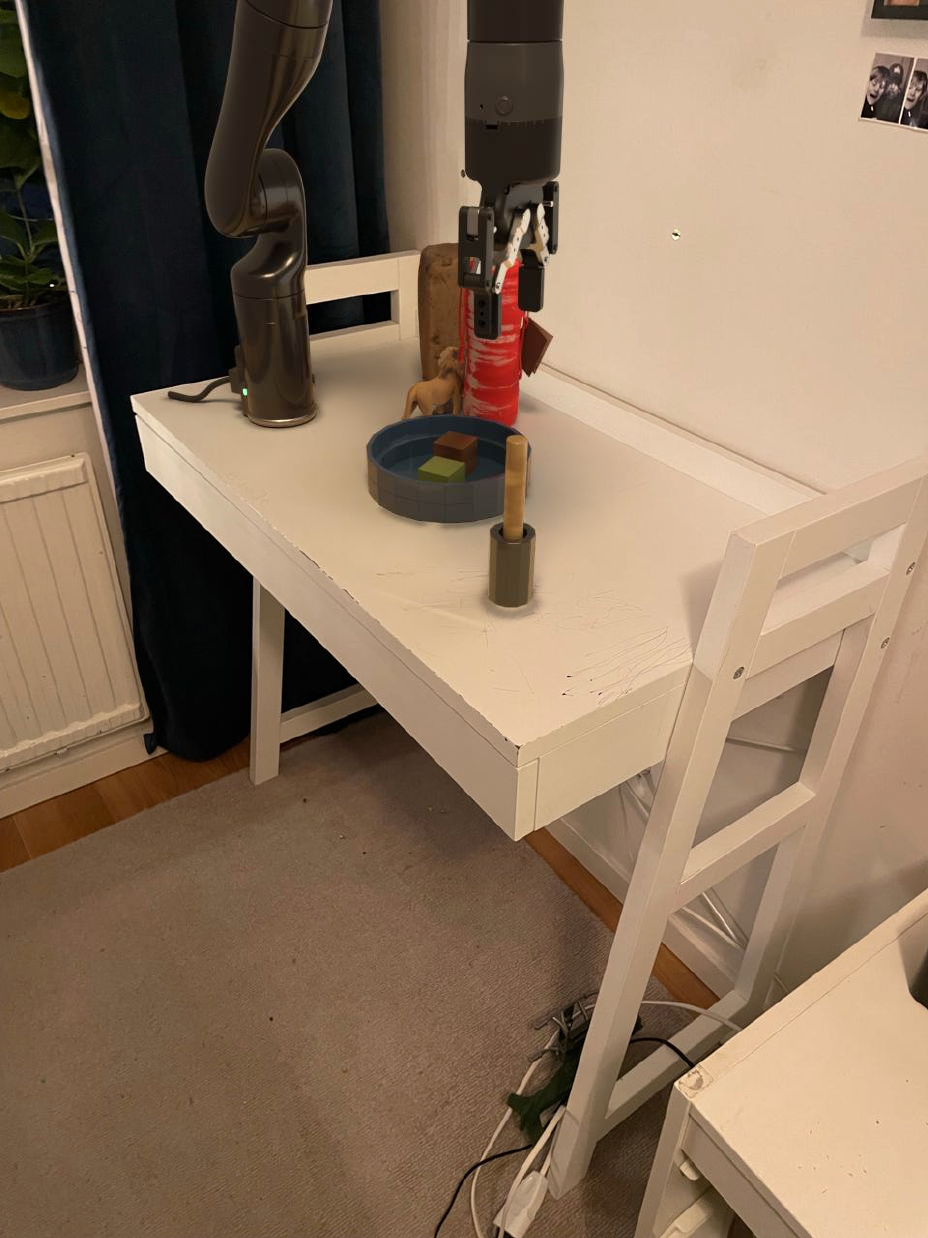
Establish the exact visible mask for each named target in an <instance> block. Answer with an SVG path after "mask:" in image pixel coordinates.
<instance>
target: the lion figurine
mask: <svg viewBox="0 0 928 1238" xmlns="http://www.w3.org/2000/svg"><path fill="white" fill-rule="evenodd" d="M458 351H459V348H458V347H447V348H446V350H445V351H443V352H442V353H441V354H440V359H439V360H438V365H439V371H438V376H437V377H436V378H434V379H433V380H430V381H425V382H423V381H418V382H415V383H413V384H412V385H411V386H410V388H409V389H408V390H407V395H406V403H405V408H404V412H403V415H402V417H401V418H400V421H401V420H404V419H409V418H411V416H412V414H413V413H414V411H415V410H416V408H417V406H418V408H419V410H420V412H421V415H422V416H425V415H433V412H434V407H436V411H435V412H436V414H437V415H441V414H445V407H444V404H446V403H448V401H450V400H451V401H452V406H453V407H452V408H453V409H452V414H457V415H461V413H460V410H461V405H462V397H461V393H462V392H463V391H464V379H465V367H466V356H465V355H464V353H463V357H464V363H461V361H458Z"/></svg>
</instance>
